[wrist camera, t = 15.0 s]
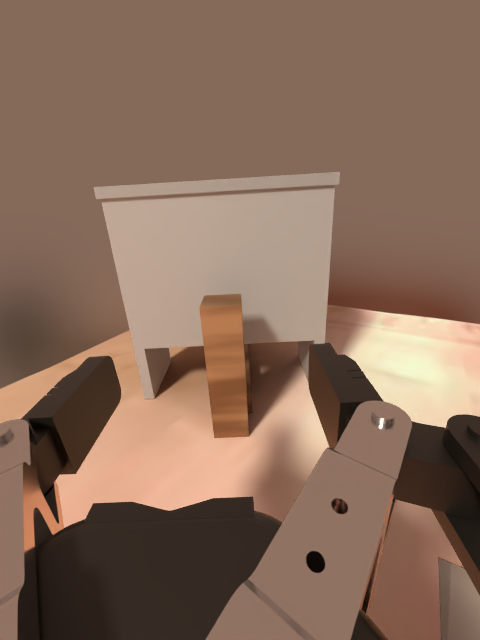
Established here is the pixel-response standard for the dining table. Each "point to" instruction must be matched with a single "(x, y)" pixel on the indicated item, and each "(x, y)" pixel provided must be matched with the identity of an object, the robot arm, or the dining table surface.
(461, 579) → the kitchen cleaver
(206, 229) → the cabinet
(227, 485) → the dining table surface
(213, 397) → the upright wooden plank
